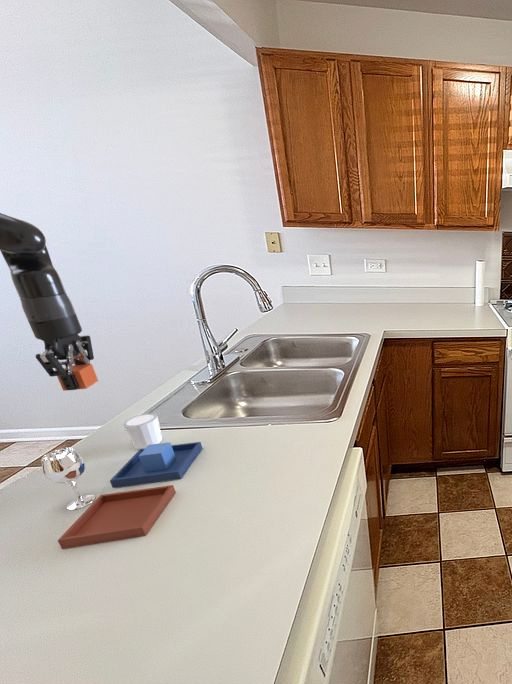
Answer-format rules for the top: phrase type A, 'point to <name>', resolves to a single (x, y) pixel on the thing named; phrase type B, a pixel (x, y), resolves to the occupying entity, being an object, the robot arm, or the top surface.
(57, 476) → the wineglass
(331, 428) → the top surface
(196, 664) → the top surface
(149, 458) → the blue block
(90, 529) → the terracotta tray
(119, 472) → the blue tray
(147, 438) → the white faceted cylinder
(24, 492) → the top surface
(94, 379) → the rust block
